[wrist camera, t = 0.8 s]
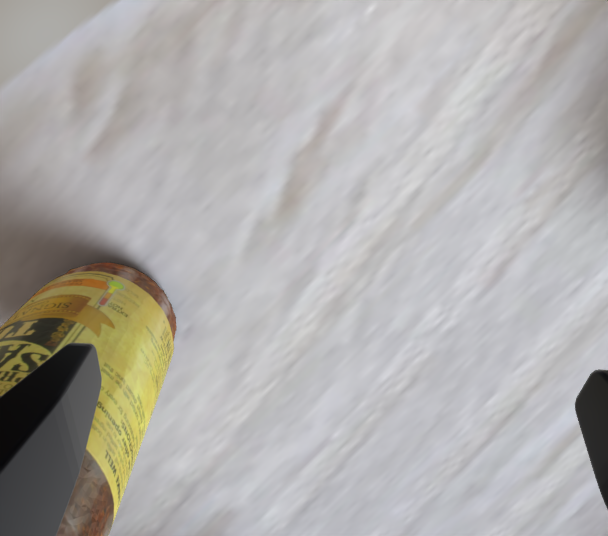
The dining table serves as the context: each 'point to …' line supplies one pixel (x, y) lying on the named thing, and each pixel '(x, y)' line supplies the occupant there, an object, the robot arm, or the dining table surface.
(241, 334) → the dining table surface
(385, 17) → the dining table surface
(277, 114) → the dining table surface
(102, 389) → the sauce bottle
